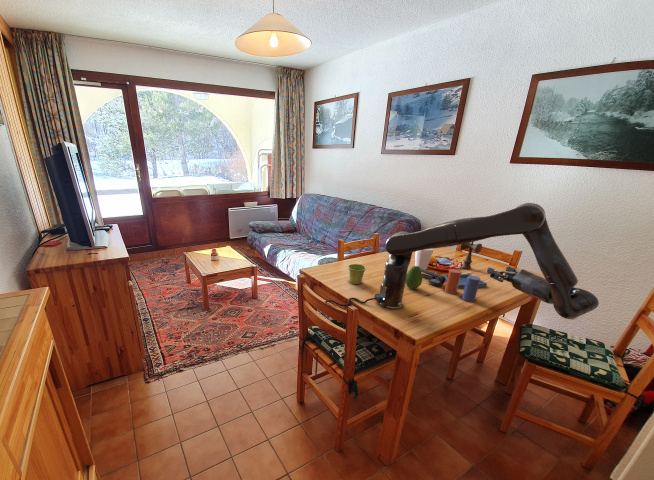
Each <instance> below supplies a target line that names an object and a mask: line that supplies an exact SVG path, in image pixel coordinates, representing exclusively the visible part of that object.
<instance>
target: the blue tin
mask: <svg viewBox="0 0 654 480" xmlns="http://www.w3.org/2000/svg"><path fill="white" fill-rule="evenodd" d="M480 280H481V278H480V277H479V276H476V275H472V276H468V277H467V280H466V284H465V288H463V293H462V296H461V299H462V300H463V301H466V302H470V303H472V302H475V301H476V297H477V293H478V290H479V287H478V286H479V283H480Z"/></svg>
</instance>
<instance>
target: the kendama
mask: <svg viewBox="0 0 654 480" xmlns="http://www.w3.org/2000/svg"><path fill="white" fill-rule="evenodd" d="M460 249H461V250H463V251H465V250H467V249H469V250H468V252H467V255H466V256H465V259H463V263H462V265H461V266H460V267H461V269H464V270H471V269H472V266H471V265H472V263H473V260H472V253H473V252H474V253H476V254H478V253H480V252H481V251H482V249H483V244H482V243H475V244H474V242H470V243H466V244H461V245H460Z"/></svg>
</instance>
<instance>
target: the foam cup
mask: <svg viewBox="0 0 654 480" xmlns="http://www.w3.org/2000/svg"><path fill="white" fill-rule="evenodd" d="M433 252H434V249H425V250H419V251H415V258H414V266H419V267H420V269H421V270H427V269H428V267H429V264H430V261H431V259H432V255H433Z"/></svg>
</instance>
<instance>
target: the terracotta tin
mask: <svg viewBox="0 0 654 480" xmlns="http://www.w3.org/2000/svg"><path fill="white" fill-rule="evenodd" d="M461 274H462V271H461V270H460V269H456V268H453V269H452V268H450V269H449V270H448V273H447V275H448V278H447V281H445V286H444V287H445V288H444V292H445V293H446V294H451V295H456V294H457V292H458V289H459V288H458V284H459V280H460V276H461Z"/></svg>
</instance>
